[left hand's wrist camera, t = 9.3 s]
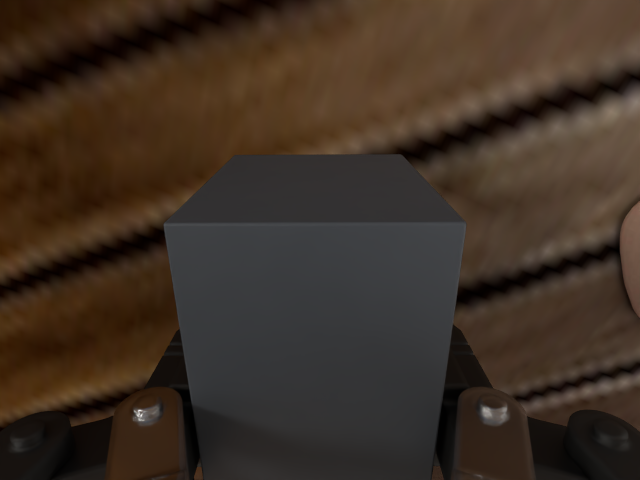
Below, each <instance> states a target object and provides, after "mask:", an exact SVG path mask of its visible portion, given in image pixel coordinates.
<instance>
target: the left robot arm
mask: <svg viewBox="0 0 640 480" xmlns="http://www.w3.org/2000/svg"><path fill="white" fill-rule="evenodd" d="M433 466H440V467H441V470H442V474H443V477H444V480H640V432H639V431H638V430H637V429H636V428H634V427H633V426H632V425H630V424H629V423H627V422H625V421H624V420H622V419H620V418H618V417H616V416H613V415H611V414H608V413H605V412H601V411H596V410H580V411H577V412H575V413H573V414H572V415H571V416H570V418H569V421H568V425H567V427H566V426H562V425H558V424H554V423H549V422H545V421H541V420H537V419H533V418H530V417H527V415H526V412H525V410H524V409H523V407H522V406H521V405H520V404H519V403H518V402H517V401H516V400H515V399H514V398H513V397H511V396H509V395H508V394H506V393H504V392H502V391H499V390H497V389H493V387H492V385H491V384H490V382H489V380H488V378H487V376H486V375H485V373H484V371H483V369H482V367H481V366H480V364H479V362H478V360H477V358H476V357H475V355H473V351H472V350H471V348H470V346H469V345H468V342H467V341H466V339H465V337H464V335H463V333H462V332H461V330H459V329H458V328H457V327H456V326H454V325H453V326H452V334H451V341H450V348H449V355H448V363H447V370H446V377H445V385H444V392H443V399H442V406H441V414H440V421H439V428H438V435H437V443H436V450H435V457H434V464H433ZM197 467H202V466H201V460H200V453H199V447H198V441H197V434H196V428H195V422H194V415H193V409H192V403H191V396H190V390H189V383H188V377H187V371H186V364H185V358H184V352H183V345H182V339H181V333H180V329H179V330H178V331H177V332H176V333H175V335H174V337H173V339H172V340H171V342H170V346H168V347H167V349H166V351H165V353H164V356H162V358H161V360H160V362H159V363H158V365H157V367H156V369H155V370H154V372H153V374H152V376H151V377H150V379H149V381H148V383H147V384H146V386H145V388H144V390H141V391H138V392H136V393H134V394H132V395H131V396H129V397H128V398H126V399H125V400H124V401H123V402H122V403H121V404H120V405H119V406H118V407H117V409H116V411H115V413H114V416H111V417H109V418H106V419H102V420H99V421H95V422H90V423H86V424H82V425H78V426H74V427H71V424H70V421H69V418H68V417H67V416H66V415H65V414H63V413H61V412H56V411H45V412H39V413H35V414H32V415H29V416H26V417H24V418H21V419H19V420H17V421H15V422H14V423H12V424H10V425H9V426H7V427H6V428H5V429H3V430H2V431H1V432H0V480H194V475H195V471H196V468H197Z"/></svg>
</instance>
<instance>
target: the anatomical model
mask: <svg viewBox="0 0 640 480" xmlns="http://www.w3.org/2000/svg"><path fill="white" fill-rule="evenodd" d="M620 255H621V263H622V271H623V279H624V283H625V287H626V290H627V293H628V296H629V299H630V302H631V305H632V307H633V309H634V311H635V313H636V314H637V316H638V317H639V318H640V201H639V202H638V203H637V204H636V205H635V206H634V207H633V208H632V209H631V210H630V212H629V213H628V214H627V216H626V217H625V219H624V222H623V224H622V227H621V232H620Z"/></svg>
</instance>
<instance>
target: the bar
mask: <svg viewBox="0 0 640 480" xmlns="http://www.w3.org/2000/svg"><path fill="white" fill-rule="evenodd" d="M466 225H467V224H466V222H465V221H464V220H463V219H462V218H461V217H460V216H459V215H458V213H457V212H456V211H455V210H454V209H453V208H452V207H451V206H450V205H449V204H448V203H447V202H446V201H445V200H444V199H443V198H442V197H441V196H440V195H439V194H438V192H437V191H436V190H435V189H434V188H433V187H432V186H431V185H430V184H429V183H428V182H427V181H426V180H425V179H424V178H423V177H422V176H421V175H420V174H419V173H418V171H417V170H416V169H415V168H414V167H413V166H412V165H411V164H410V163H409V162H408V161H407V160H406V159H405V158H404V157H403V156H402V155H401V154H391V155H235V156H233V157H232V158H231V159H230V160H229V161H228V162H227V163H226V164H225V165H224V166H223V167H222V168H221V169H220V170H219V171H218V172H217V173H216V174H215V175H214V176H213V177H212V178H211V179H210V180H208V181H207V182H206V183H205V184H204V185H203V186H202V187H201V188H200V189H199V190H198V191H197V192H196V193H195V194H194V195H193V196H192V197H191V198H190V199H189V200H188V201H187V202H186V203H185V204H184V205H183V206H181V207H180V208H179V209H178V210H177V211H176V212H175V213H174V214H173V215H172V216H171V217H170V218H169V219H168V220H167V221H166V222H165V223H164V231H165V237H166V244H167V250H168V256H169V263H170V269H171V275H172V282H173V288H174V294H175V301H176V307H177V314H178V320H179V326H180V333H181V339H182V345H183V352H184V358H185V364H186V371H187V377H188V383H189V390H190V396H191V403H192V409H193V415H194V422H195V428H196V434H197V441H198V447H199V453H200V460H201V466H202V473H203V479H204V480H431V479H432V472H433V464H434V457H435V450H436V443H437V435H438V428H439V421H440V414H441V406H442V399H443V392H444V385H445V377H446V370H447V363H448V355H449V348H450V341H451V334H452V326H453V319H454V312H455V305H456V297H457V290H458V283H459V276H460V268H461V261H462V254H463V246H464V239H465V232H466Z"/></svg>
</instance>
